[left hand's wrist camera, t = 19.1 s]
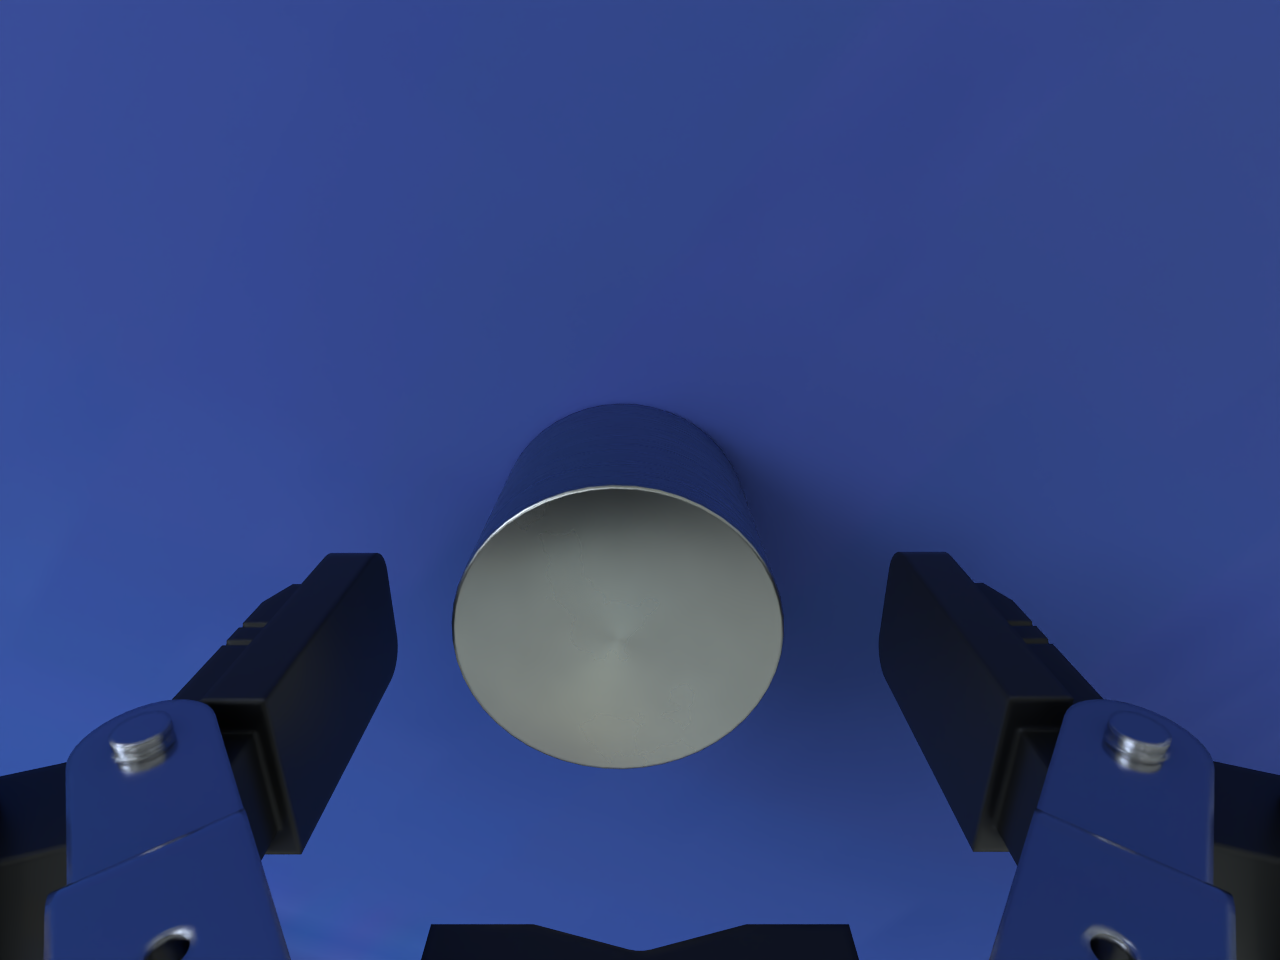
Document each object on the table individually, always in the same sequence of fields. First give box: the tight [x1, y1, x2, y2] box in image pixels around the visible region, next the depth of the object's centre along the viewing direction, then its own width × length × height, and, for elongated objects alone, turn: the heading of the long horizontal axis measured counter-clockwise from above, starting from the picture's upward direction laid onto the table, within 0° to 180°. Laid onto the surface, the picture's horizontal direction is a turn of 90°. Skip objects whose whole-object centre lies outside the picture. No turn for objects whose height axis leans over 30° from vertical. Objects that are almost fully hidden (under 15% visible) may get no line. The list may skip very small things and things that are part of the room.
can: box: [452, 404, 784, 769], centre depth 13 cm, size 5×5×4 cm
